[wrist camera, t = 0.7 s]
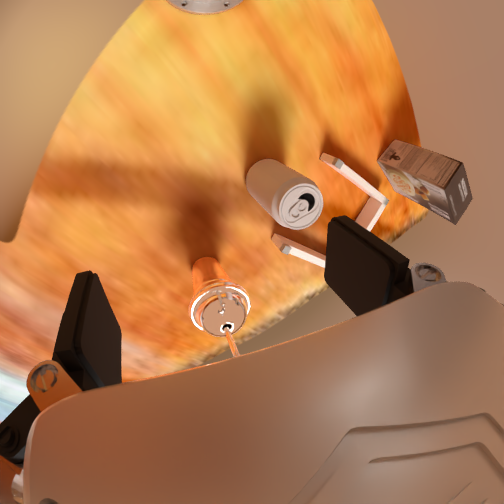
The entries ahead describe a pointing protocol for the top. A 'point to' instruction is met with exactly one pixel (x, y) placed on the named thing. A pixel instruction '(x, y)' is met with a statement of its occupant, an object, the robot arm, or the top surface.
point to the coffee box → (427, 179)
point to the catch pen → (364, 219)
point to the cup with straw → (217, 301)
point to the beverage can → (284, 194)
